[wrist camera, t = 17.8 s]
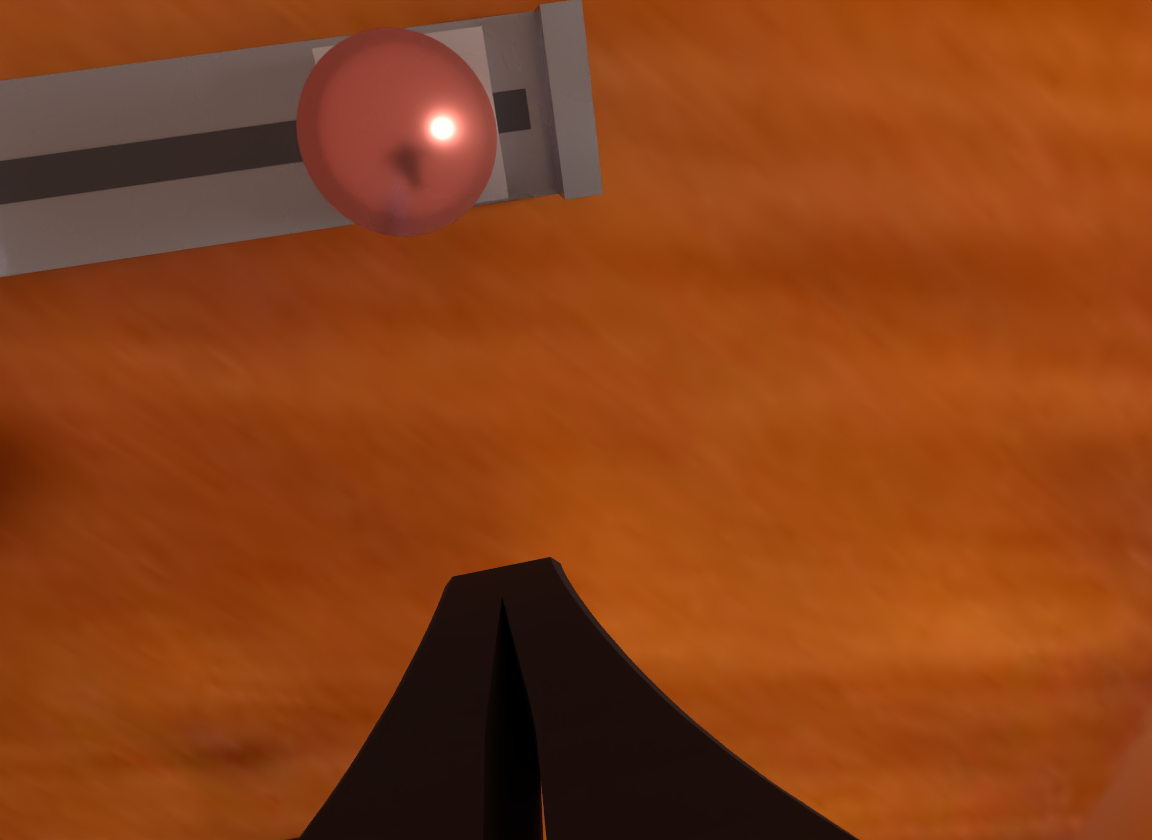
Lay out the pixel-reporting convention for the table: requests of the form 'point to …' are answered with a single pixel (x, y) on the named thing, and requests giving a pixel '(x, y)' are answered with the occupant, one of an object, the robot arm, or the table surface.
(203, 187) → the lever rail
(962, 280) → the table surface
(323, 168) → the lever
